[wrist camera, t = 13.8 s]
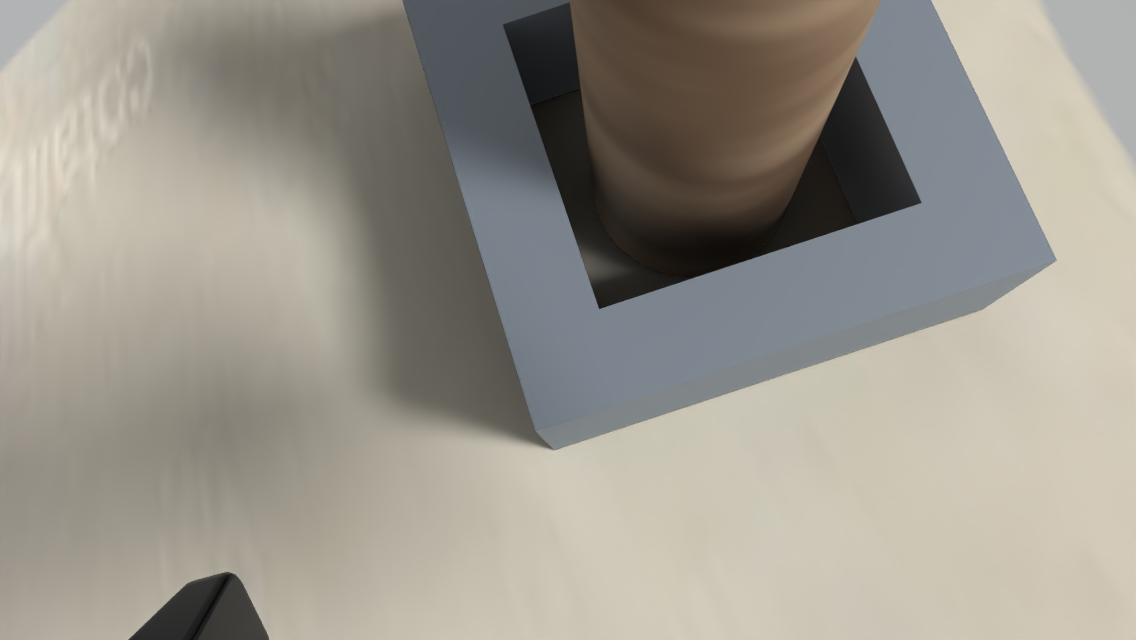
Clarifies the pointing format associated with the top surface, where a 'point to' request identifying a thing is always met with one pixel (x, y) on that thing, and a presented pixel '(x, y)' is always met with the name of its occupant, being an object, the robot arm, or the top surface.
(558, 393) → the well
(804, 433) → the top surface
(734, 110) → the walnut cylinder
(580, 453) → the top surface
